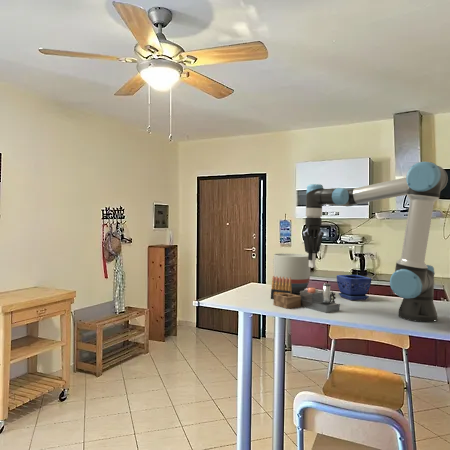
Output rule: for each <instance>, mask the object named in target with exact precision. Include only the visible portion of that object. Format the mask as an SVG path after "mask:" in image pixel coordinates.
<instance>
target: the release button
mask: <svg viewBox="0 0 450 450" xmlns="http://www.w3.org/2000/svg"><path fill="white" fill-rule="evenodd" d="M316 289H317V288H316V287H312V286H311V287H307V290H308V292H310V293H315V291H316Z"/></svg>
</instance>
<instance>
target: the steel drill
mask: <svg viewBox="0 0 450 450" xmlns="http://www.w3.org/2000/svg"><path fill="white" fill-rule="evenodd" d="M322 292H323V304H325V305H330V294H331V283H325V282H324V283H322Z"/></svg>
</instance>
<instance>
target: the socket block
mask: <svg viewBox="0 0 450 450" xmlns="http://www.w3.org/2000/svg"><path fill="white" fill-rule="evenodd" d="M299 296H301V307H302V308H306V309H310V310H314V311H317V312H320V313H325V314H327V313H328V314H329V313H333V312H334V313H336V312H340V305H341V304H340V303H337V302H335V303H332V302H330V305H325V304H323V291H319V290H318V291H315V293H310V292H308V289H305V290H304V291H300V293H299Z"/></svg>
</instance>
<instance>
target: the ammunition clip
mask: <svg viewBox="0 0 450 450" xmlns="http://www.w3.org/2000/svg"><path fill="white" fill-rule="evenodd" d="M281 287H282V289H281ZM283 293H290V294H292V291H291V277H290V278H289V285H288V278H287V277H286V281H285V280H284V276H283V279H282V285H281V276H280V277H279V284H278V277H277V276H276V281H275V279H274V275H273V276H272V279H271V290H270V300H274V294H283Z"/></svg>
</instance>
